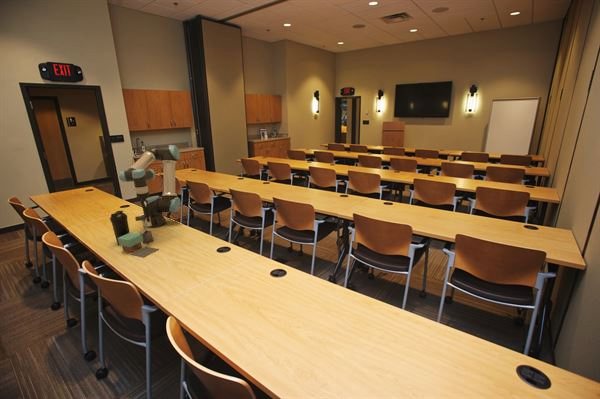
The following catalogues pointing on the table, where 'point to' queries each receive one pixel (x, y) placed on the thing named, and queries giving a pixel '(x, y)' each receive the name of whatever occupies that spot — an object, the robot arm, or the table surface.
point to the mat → (144, 252)
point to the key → (142, 222)
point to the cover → (130, 239)
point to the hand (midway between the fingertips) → (148, 225)
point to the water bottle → (119, 224)
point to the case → (132, 248)
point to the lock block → (147, 237)
